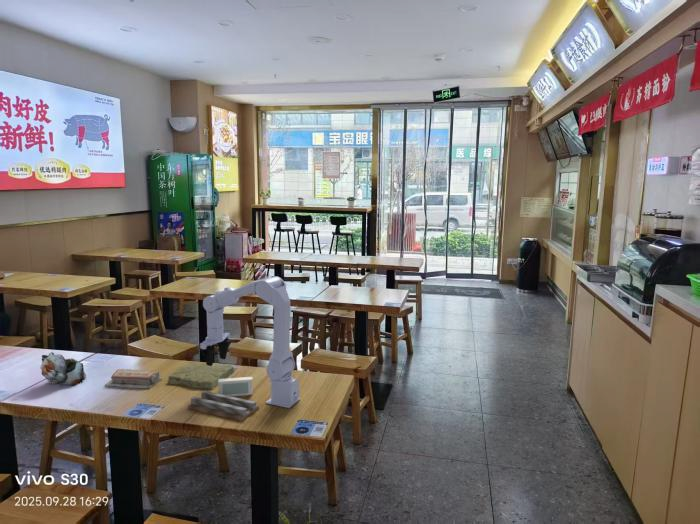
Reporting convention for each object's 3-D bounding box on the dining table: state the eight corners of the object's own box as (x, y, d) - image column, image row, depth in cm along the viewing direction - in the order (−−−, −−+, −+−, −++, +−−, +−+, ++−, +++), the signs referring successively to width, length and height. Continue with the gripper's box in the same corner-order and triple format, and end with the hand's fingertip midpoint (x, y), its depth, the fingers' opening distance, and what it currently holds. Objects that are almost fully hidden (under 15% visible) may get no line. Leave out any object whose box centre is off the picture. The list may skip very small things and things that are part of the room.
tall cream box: (252, 392, 175) (252, 376, 174) (252, 395, 172) (252, 379, 171) (219, 394, 172) (218, 378, 172) (218, 397, 170) (218, 381, 169)
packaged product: (162, 368, 185) (149, 377, 176) (163, 379, 186) (150, 390, 176) (119, 365, 187) (103, 375, 177) (119, 377, 188) (104, 387, 178)
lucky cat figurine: (87, 384, 180) (67, 358, 172) (54, 400, 176) (32, 375, 169) (86, 361, 191) (67, 336, 184) (55, 376, 188) (34, 351, 180)
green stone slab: (190, 368, 198) (189, 360, 198) (234, 372, 194) (234, 364, 194) (164, 386, 180) (163, 377, 180) (212, 391, 176) (212, 382, 176)
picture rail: (258, 408, 162) (258, 400, 161) (241, 421, 152) (241, 412, 152) (207, 396, 170) (206, 389, 170) (187, 408, 161) (187, 400, 160)
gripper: (219, 320, 183) (220, 354, 185) (193, 330, 169) (194, 366, 171) (234, 322, 180) (235, 357, 182) (208, 333, 167) (210, 369, 169)
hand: (216, 362), depth 177 cm, fingers open, 7 cm apart
